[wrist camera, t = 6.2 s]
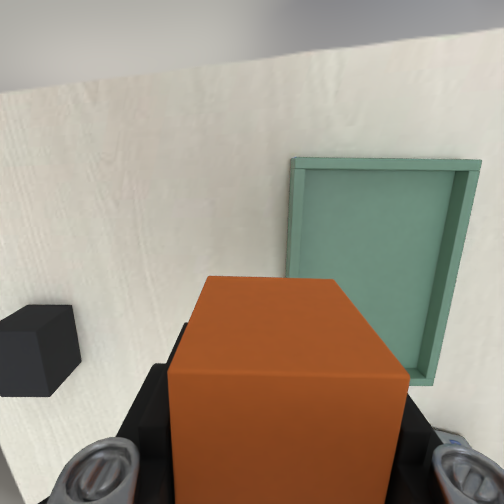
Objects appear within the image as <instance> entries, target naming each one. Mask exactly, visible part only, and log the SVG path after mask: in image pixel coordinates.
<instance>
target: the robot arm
mask: <svg viewBox="0 0 504 504" xmlns="http://www.w3.org/2000/svg"><path fill="white" fill-rule="evenodd" d="M187 324H188V323H187V322H185V323H184V325H183V327H182V329H181V332H180V334H179V336H178V338H177V340H176V343H175V345H174V347H173V349H172V352H171V354H170V356H169V358H168V360H167V363H166V364H161V363H155V364H154V365H153V366H152V367H151V369H150V371H149V373H148V375H147V377H146V379H145V381H144V383H143V385H142V387H141V389H140V391H139V392H138V394H137V396H136V398H135V400H134V402H133V404H132V406H131V408H130V410H129V412H128V414H127V416H126V418H125V420H124V421H123V423H122V425H121V427H120V429H119V431H118V433H117V435H116V437H109V438H106V439H102V440H98V441H96V442H94V443H92V444H90V445H88V446H86V447H85V448H84V449H82V450H81V451H79V452H78V453H77V454H75V455H74V457H73V458H72V459H71V460H70V461H69V462H68V463H67V464H66V465H65V467H64V468H63V470H62V472H61V473H60V475H59V477H58V479H57V481H56V483H55V486H54V488H53V490H52V492H51V495H50V496H49V497H47V498H46V499H44V500H43V501H41V502H40V503H38V504H175V491H174V474H173V457H172V441H171V424H170V407H169V390H168V374H167V371H168V369H169V367H170V364H171V362H172V360H173V357H174V355H175V352H176V350H177V348H178V345H179V343H180V341H181V338H182V336H183V334H184V331H185V329H186V327H187ZM384 504H504V470H503V469H502V468H501V467H500V466H499V465H498V464H497V463H495V462H494V461H493V460H491V459H489V458H488V457H486V456H485V455H483V454H482V453H480V452H478V451H476V450H473V449H471V448H469V447H466V446H462V445H459V444H449V443H446V444H444V443H443V442H442V441H441V439H440V438H439V436H438V435H437V434H436V432H435V431H434V429H433V428H432V427H431V425H430V424H429V422H428V421H427V420H426V418H425V417H424V415H423V414H422V413H421V411H420V410H419V408H418V407H417V406H416V404H415V403H414V401H413V400H412V399H411V397H410V396H409V394H408V393H407V397H406V402H405V407H404V412H403V416H402V421H401V426H400V431H399V436H398V441H397V445H396V450H395V455H394V460H393V465H392V470H391V474H390V479H389V484H388V489H387V494H386V498H385V503H384Z"/></svg>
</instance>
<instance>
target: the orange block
mask: <svg viewBox="0 0 504 504" xmlns="http://www.w3.org/2000/svg"><path fill="white" fill-rule="evenodd" d="M167 374H168V390H169V407H170V424H171V441H172V457H173V474H174V491H175V504H384V503H385V498H386V494H387V489H388V484H389V479H390V474H391V470H392V465H393V460H394V455H395V450H396V445H397V441H398V436H399V431H400V426H401V421H402V416H403V412H404V407H405V402H406V397H407V392H408V387H409V383H410V375H409V373H408V372H407V371H406V370H405V368H404V367H403V366H402V365H401V363H400V362H399V361H398V359H397V358H396V357H395V356H394V354H393V353H392V352H391V351H390V349H389V348H388V347H387V346H386V344H385V343H384V342H383V341H382V339H381V338H380V337H379V336H378V334H377V333H376V332H375V331H374V329H373V328H372V327H371V325H370V324H369V323H368V322H367V320H366V319H365V318H364V317H363V315H362V314H361V313H360V312H359V310H358V309H357V308H356V307H355V305H354V304H353V303H352V302H351V300H350V299H349V298H348V297H347V295H346V294H345V293H344V291H343V290H342V289H341V288H340V286H339V285H338V284H337V283H336V281H335V280H334V279H313V278H273V277H233V276H208V277H207V280H206V282H205V284H204V287H203V289H202V291H201V294H200V296H199V298H198V301H197V303H196V305H195V308H194V310H193V312H192V315H191V317H190V320H189V322H188V324H187V327H186V329H185V331H184V334H183V336H182V338H181V341H180V343H179V345H178V348H177V350H176V352H175V355H174V357H173V360H172V362H171V364H170V367H169V369H168V371H167Z"/></svg>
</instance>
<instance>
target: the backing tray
mask: <svg viewBox="0 0 504 504" xmlns="http://www.w3.org/2000/svg"><path fill="white" fill-rule="evenodd" d="M481 163H482V160H471V159H395V158H319V157H295V158H292V159H291V173H290V195H289V216H288V237H287V259H286V278H313V279H334V280H335V281H336V283H337V284H338V285H339V286H340V288H341V289H342V290H343V291H344V293H345V294H346V295H347V297H348V298H349V299H350V300H351V302H352V303H353V304H354V305H355V307H356V308H357V309H358V310H359V312H360V313H361V314H362V315H363V317H364V318H365V319H366V320H367V322H368V323H369V324H370V325H371V327H372V328H373V329H374V331H375V332H376V333H377V334H378V336H379V337H380V338H381V339H382V341H383V342H384V343H385V344H386V346H387V347H388V348H389V349H390V351H391V352H392V353H393V354H394V356H395V357H396V358H397V359H398V361H399V362H400V363H401V365H402V366H403V367H404V368H405V370H406V371H407V372H408V373H409V375H410V383H409V386H433V383H434V378H435V374H436V370H437V365H438V361H439V356H440V351H441V347H442V342H443V338H444V333H445V329H446V324H447V319H448V315H449V310H450V306H451V301H452V297H453V292H454V287H455V283H456V278H457V274H458V269H459V265H460V260H461V256H462V251H463V246H464V242H465V237H466V233H467V228H468V224H469V219H470V214H471V210H472V205H473V201H474V196H475V192H476V187H477V182H478V178H479V173H480V168H481Z"/></svg>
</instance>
